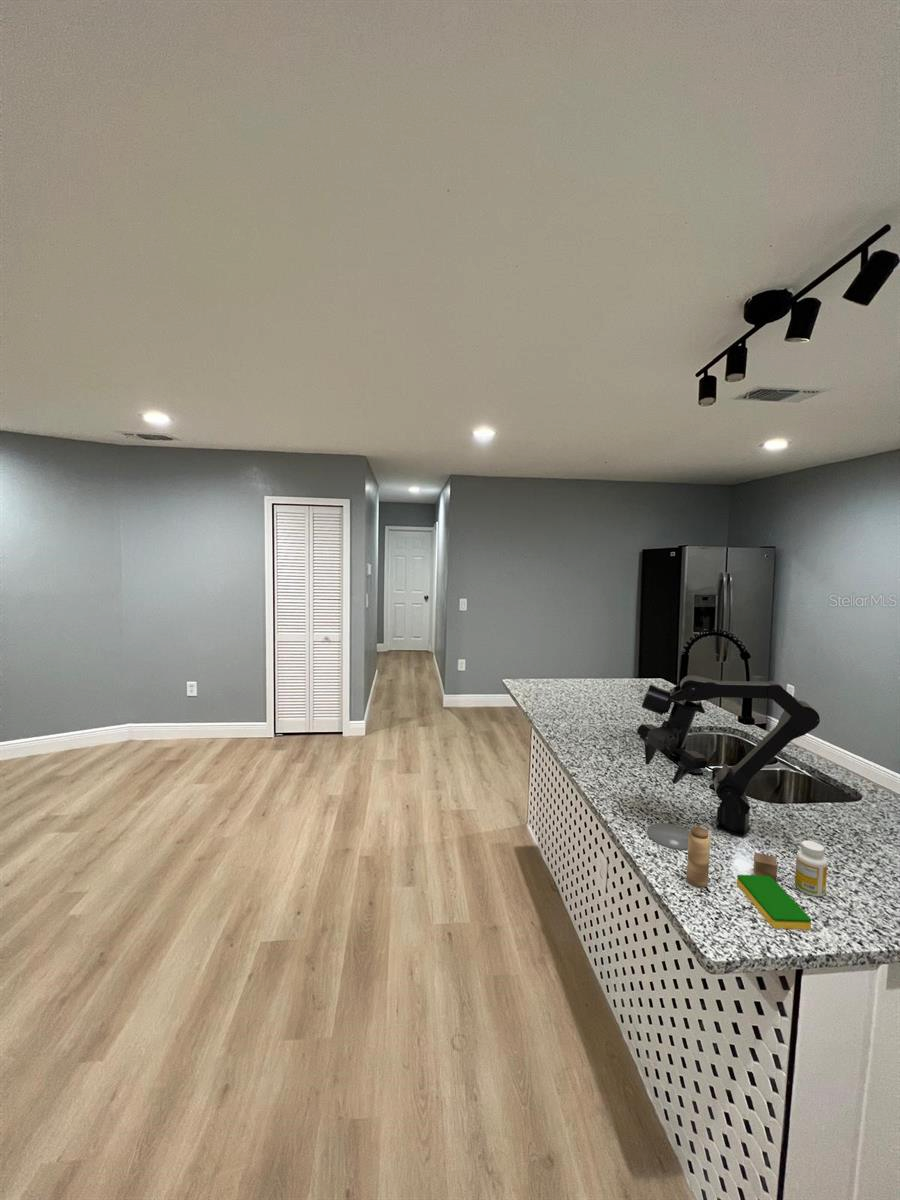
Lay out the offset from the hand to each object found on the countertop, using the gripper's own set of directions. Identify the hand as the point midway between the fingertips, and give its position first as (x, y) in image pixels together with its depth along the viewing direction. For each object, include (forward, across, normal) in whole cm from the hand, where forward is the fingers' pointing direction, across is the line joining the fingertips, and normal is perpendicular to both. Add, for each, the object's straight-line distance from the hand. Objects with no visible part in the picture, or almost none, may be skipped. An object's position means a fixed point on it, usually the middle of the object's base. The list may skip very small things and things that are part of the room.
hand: (660, 773), depth 141 cm
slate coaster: (+10, +12, -5) cm, 16 cm away
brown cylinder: (+9, +26, -16) cm, 32 cm away
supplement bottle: (+3, +39, +3) cm, 39 cm away
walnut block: (+5, +32, -1) cm, 32 cm away
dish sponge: (+6, +38, -10) cm, 40 cm away
